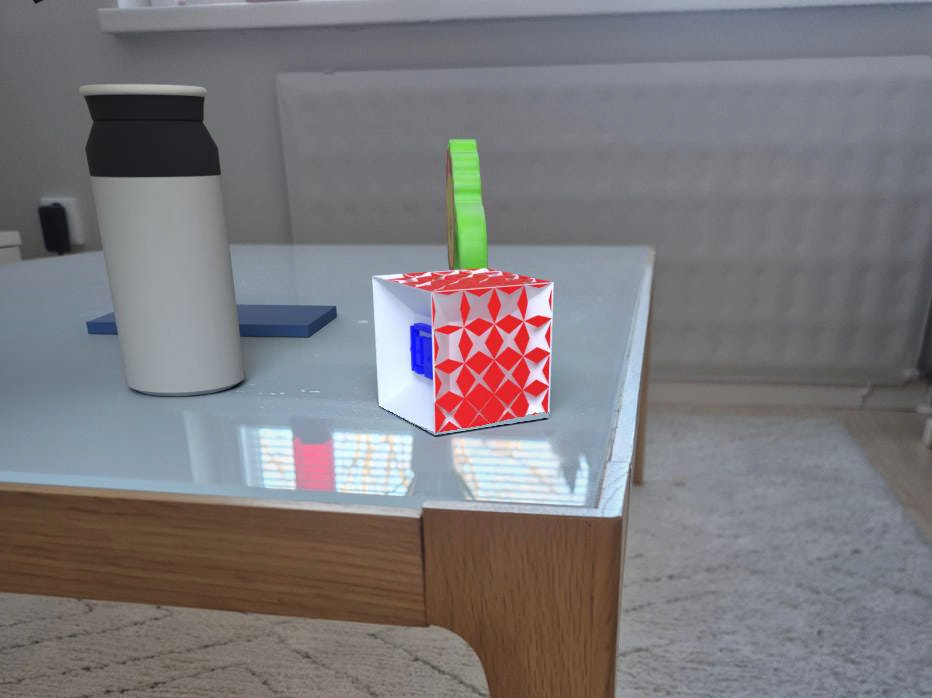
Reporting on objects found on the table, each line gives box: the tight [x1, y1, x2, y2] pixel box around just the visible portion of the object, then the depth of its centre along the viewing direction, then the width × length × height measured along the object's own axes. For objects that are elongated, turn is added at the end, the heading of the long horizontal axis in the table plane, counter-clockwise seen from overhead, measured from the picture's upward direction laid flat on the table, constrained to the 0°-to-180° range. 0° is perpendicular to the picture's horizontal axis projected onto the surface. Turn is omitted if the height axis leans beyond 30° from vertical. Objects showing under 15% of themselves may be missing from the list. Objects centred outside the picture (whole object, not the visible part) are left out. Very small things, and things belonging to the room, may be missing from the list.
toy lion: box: [444, 138, 489, 271], centre depth 75 cm, size 16×5×15 cm, turn 5°
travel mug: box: [78, 83, 246, 397], centre depth 62 cm, size 8×8×18 cm
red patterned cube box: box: [371, 267, 555, 433], centre depth 57 cm, size 8×8×8 cm
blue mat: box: [85, 303, 338, 338], centre depth 87 cm, size 20×11×1 cm, turn 85°
